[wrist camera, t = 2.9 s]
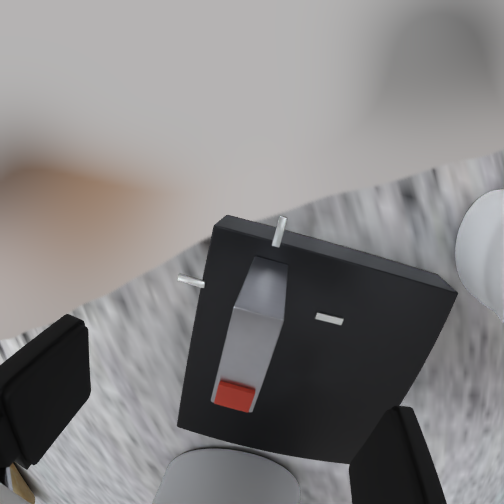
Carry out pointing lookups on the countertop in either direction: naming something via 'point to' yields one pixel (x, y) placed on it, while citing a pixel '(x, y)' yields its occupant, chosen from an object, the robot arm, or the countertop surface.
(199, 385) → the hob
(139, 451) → the countertop surface
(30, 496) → the bread roll
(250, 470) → the cylinder vase
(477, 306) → the countertop surface
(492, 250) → the water bottle
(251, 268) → the knob
